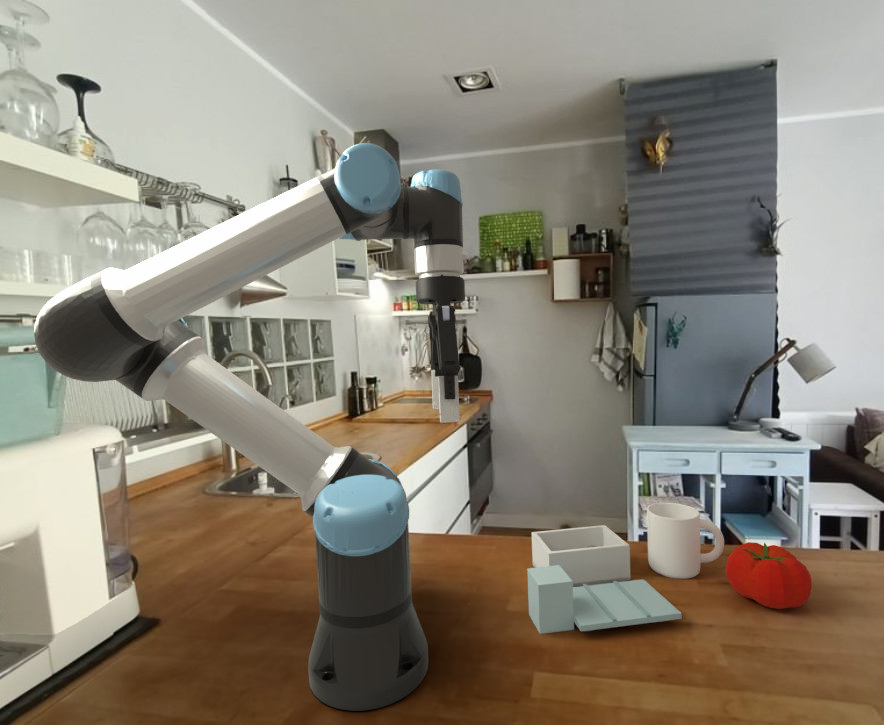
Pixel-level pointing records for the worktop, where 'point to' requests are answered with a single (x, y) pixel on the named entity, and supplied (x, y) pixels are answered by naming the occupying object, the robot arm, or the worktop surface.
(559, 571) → the lid
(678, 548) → the mug
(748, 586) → the tomato
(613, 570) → the tub
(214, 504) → the worktop surface
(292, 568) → the worktop surface
